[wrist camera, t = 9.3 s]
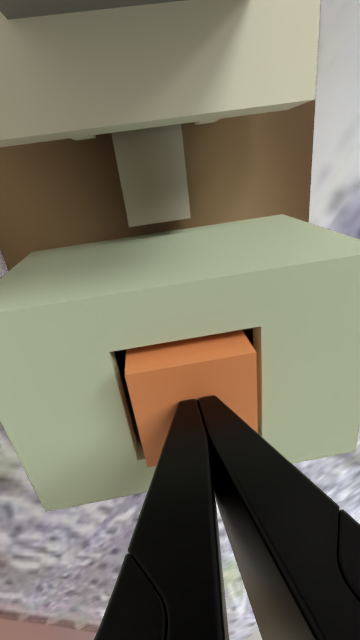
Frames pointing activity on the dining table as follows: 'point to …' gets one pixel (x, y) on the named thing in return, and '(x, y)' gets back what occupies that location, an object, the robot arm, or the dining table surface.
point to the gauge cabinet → (171, 325)
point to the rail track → (155, 182)
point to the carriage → (149, 63)
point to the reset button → (189, 382)
